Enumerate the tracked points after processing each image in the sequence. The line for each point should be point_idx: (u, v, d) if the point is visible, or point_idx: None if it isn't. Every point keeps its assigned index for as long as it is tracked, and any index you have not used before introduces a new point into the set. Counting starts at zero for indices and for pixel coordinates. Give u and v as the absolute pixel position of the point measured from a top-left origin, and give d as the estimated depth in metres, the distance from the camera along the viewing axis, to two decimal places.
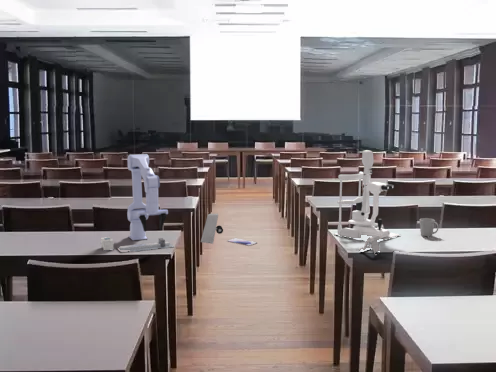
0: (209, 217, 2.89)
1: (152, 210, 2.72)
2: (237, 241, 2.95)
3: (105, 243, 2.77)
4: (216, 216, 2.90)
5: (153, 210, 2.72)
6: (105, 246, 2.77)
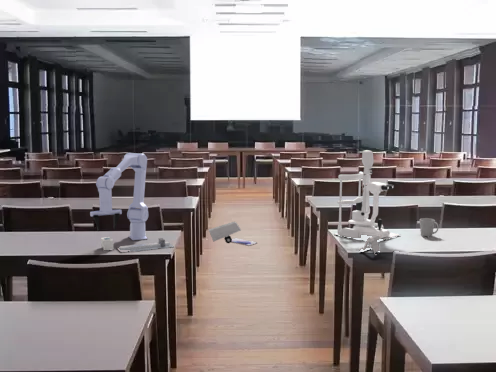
0: (234, 224, 2.92)
1: (105, 210, 2.76)
2: (237, 241, 2.95)
3: (105, 243, 2.77)
4: (238, 229, 2.93)
5: (106, 210, 2.76)
6: (105, 246, 2.77)
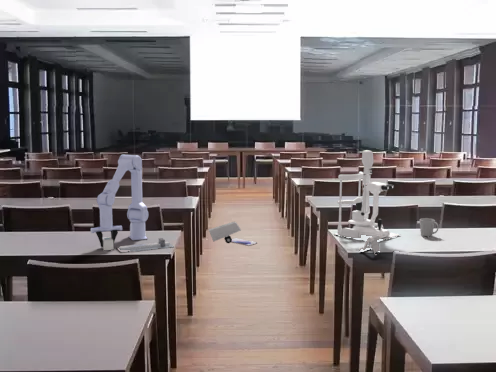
0: (234, 224, 2.92)
1: (106, 227, 2.77)
2: (237, 241, 2.95)
3: (105, 243, 2.77)
4: (238, 229, 2.93)
5: (107, 227, 2.77)
6: (105, 246, 2.77)
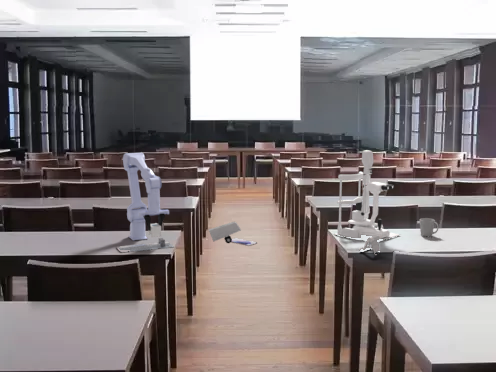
0: (234, 224, 2.92)
1: (154, 210, 2.81)
2: (237, 241, 2.95)
3: (153, 229, 2.81)
4: (238, 229, 2.93)
5: (155, 210, 2.81)
6: (153, 232, 2.81)
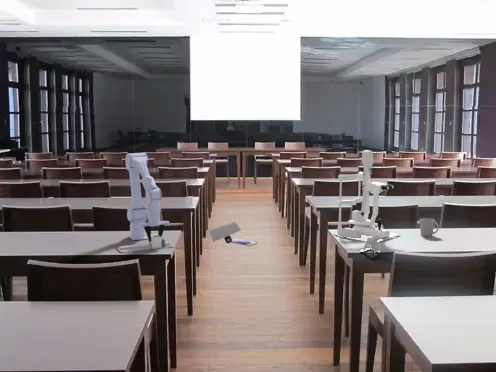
0: (234, 224, 2.92)
1: (154, 222, 2.82)
2: (237, 241, 2.95)
3: (153, 240, 2.82)
4: (238, 229, 2.93)
5: (155, 222, 2.82)
6: (153, 243, 2.82)
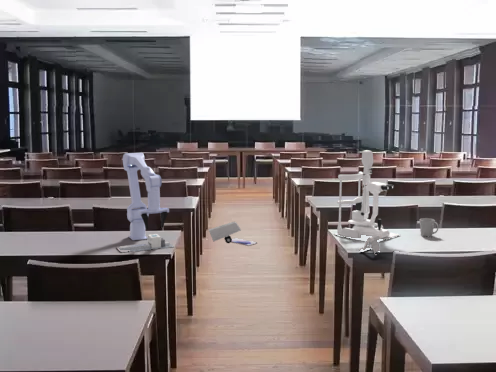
0: (234, 224, 2.92)
1: (154, 208, 2.81)
2: (237, 241, 2.95)
3: (153, 240, 2.82)
4: (238, 229, 2.93)
5: (155, 208, 2.81)
6: (153, 243, 2.82)
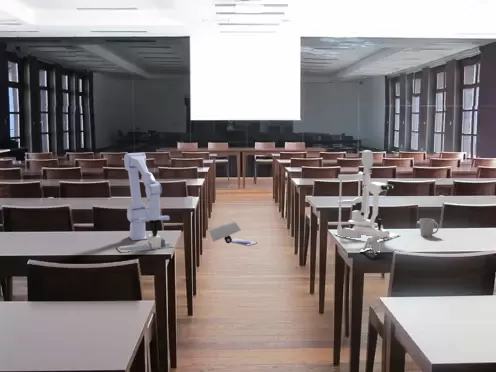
0: (234, 224, 2.92)
1: (154, 216, 2.81)
2: (237, 241, 2.95)
3: (153, 240, 2.82)
4: (238, 229, 2.93)
5: (155, 216, 2.81)
6: (153, 243, 2.82)
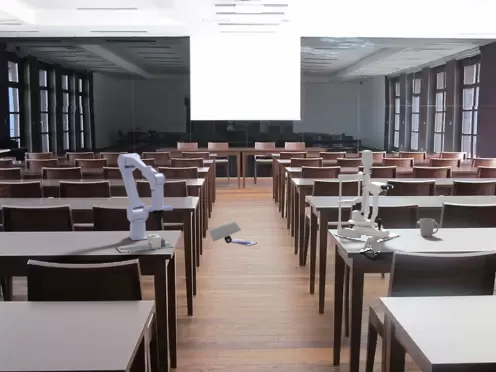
0: (234, 224, 2.92)
1: (157, 206, 2.85)
2: (237, 241, 2.95)
3: (153, 240, 2.82)
4: (238, 229, 2.93)
5: (158, 206, 2.85)
6: (153, 243, 2.82)
